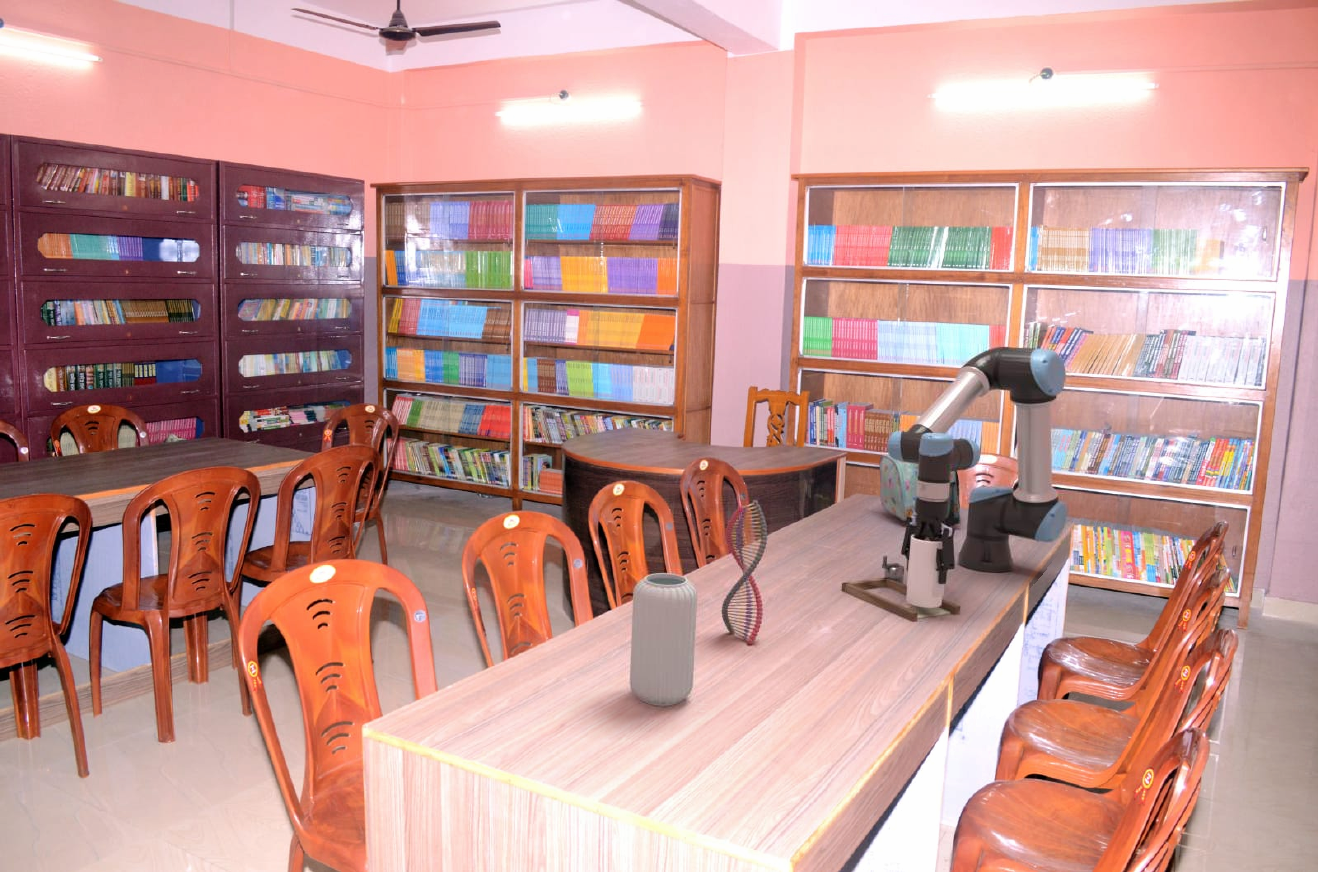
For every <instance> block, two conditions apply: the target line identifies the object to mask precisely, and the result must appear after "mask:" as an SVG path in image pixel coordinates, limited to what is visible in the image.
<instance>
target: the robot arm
mask: <svg viewBox="0 0 1318 872" xmlns="http://www.w3.org/2000/svg"><path fill="white" fill-rule="evenodd" d="M1066 376H1067V375H1066V366H1065V363H1064V360H1063V358H1062V357H1061V356H1060V355H1059V353H1057V352H1056V351H1054V350H1052V349H1051V350H1049V349H1044V348H1032V347H1012V346H1010V347H1009V346H996V347H992V348H990V349H987V350H984V351H983V352H980V353H979V354H977V355H975V356H974V357H972V358H971V359H969V360H968V361H966V363H965V364H963V365H962V366H961V368H960V369H958V371H957V372H956V374H955V380H953V381H952V383H950V385H948V387H947V388H946V389H945V390H944V391H943V392H942V394H940V396H939V397H938V398H937V399H935V401H933V403H932V404H931V405H930V406H929V408H927V409H926V410H925V412H923V414H922V415H921V416H920V417H919V418H918V419H917V420H916V421H915V422H914V423H913V424H912V425H911V427H909V429H907V431H905V430H900V431H899V430H896V431H894V432H892V433H891V434H890V436H889V438H888V439H887V444H886V445H887V447H886V448H887V452H888V454H889V455H890V457H891V458H893V459H895V460H899V461H903V462H909V463H915V464H919V465H918V478H917V491H916V495H917V496H918V498H917V499H916V502H915V513H916V514H917V516H911V517H907V518H906V520H905V522H906V527H905V532H904V537H903V540H902V541H903V542H902V546H901V549H900V550H901V551H900V554H901V555H902V556H905V558H906V568H905V569H906V572H907V577H906V584H907V583H908V570H909V557H910V544H911V536H912V535H913V534H914V535H915V537H914V538H915V539H918V540H923V541H924V540H925V538H926V537H928V538H929V539H930V541H931V542H940V541H942V549H938V548H937V551H936V563H937V568H938V569H935V573H934V586H933V597H941V596H942V597H944V593H945V584H946V583H947V579H948V571H949V570H950V571H951V570H955V569H956V564H955V563H956V562H955V543H954V536H955V532H956V528H955V527H953V526H950V527H948V526H946V525H945V520H944V519H945V517H946V516H947V513H948V501H947V500H946V499H948V498H949V488H950V475H951V472H952V471H957V472H958V471H965V470H969V469H972V468H974V467H975V466H976V465H977V464H978V463H979V462H980V459H981V449H980V446H979V445H978V443H977V442H976V441H975V440H973V439H970V438H963V437H961V438H960V437H959V438H954V437H953V436H952V434H948V433H947V432H948V431H949V430H950V429H951V428H952V426H954V425H955V423H956V422H957V421H958V420H960V418H961V417H962V416H963V415H964V413H966V411H967V410H968V409H969V408H970V407H971V406H972V405H973V404H974V402H975V401H976V400H977V399H978V398H982V397H984V396H986V395H987V394H988V393H989V392H990V391H997V390H1001V391H1007V392H1008V391H1009V400H1010V402H1011V403H1012V404H1014V405H1015V411H1016V415H1015V416H1016V442H1017V444H1016V445H1017V447H1016V448H1017V474H1018V475H1017V476H1018V478H1017V479H1018V480H1017V481H1018V487H1017V488H1016V489H1015V490H1014V488H1013V487H1012V486H1005V485H1002V486H1001V485H994V486H993V485H989V486H988V485H987V486H986V485H985V486H977V487H974V488H972V490H970V494H969V498H968V499H969V500H968V503H967V504H968V510H967V511H968V512H967V525H966V537H965V539H964V541H963V543H962V546H961V549H960V551H959V552H958V555H957V564H958V565H960V566H962V567H965V568H967V569H971V570H975V571H980V572H988V573H1004V572H1005V573H1006V572H1009V571H1012V570H1013V569H1014V568H1013V567H1014V560H1013V557H1012V552H1011V547H1010V542H1009V541H1010V540H1009V538H1010V536H1013V537H1017V538H1023V539H1026V540H1032V541H1035V542H1041V543H1042V542H1043V543H1053V542H1054V541H1056V540H1057V539H1058V538H1059V537H1060V535H1062V532H1063V530H1064V529H1065V526H1066V524H1067V518H1068V506H1067V505H1066V503H1065V502H1063V501H1059V492H1058V490H1057V489H1055V488H1054V487H1053V466H1052V465H1053V464H1052V461H1053V460H1052V421H1051V420H1052V418H1051V417H1052V413H1051V407H1052V403H1054V402H1055V401H1056V400H1057V396H1058V395H1060V394H1061V393H1062V392H1063V390H1064V388H1065V382H1066ZM937 537H938V538H937ZM942 564H943V565H942Z"/></svg>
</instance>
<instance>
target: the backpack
mask: <svg viewBox="0 0 1318 872" xmlns="http://www.w3.org/2000/svg"><path fill="white" fill-rule="evenodd" d="M918 465H919V464H915V463H909V462H903V461H899V460H895V459H893V458H891V457H890V455H889V453H888V454H883V455H881V457H880V458H879V478H880V496H879V497H880V502H881V506H882V508H883V509H884V510H885V511H886V512H888V513H890V514H892V515H894V516H896V517H897V518H899V519H900V520H902V521H906V518H907V517H911V516H917V514H916V513H915V502H916V499H917V498H918V496H917V495H916V491H917V478H918ZM959 481H960V480H959V474H958V471H952V472H951V475H950V488H949V498H948V499H946V500H947V501H948V513H947V516H946V517H945V519H944V520H945V525H946V526H948V527H953V526H955V525H959V524H961V522H962V519H961V518H962V517H961V512H960V509H961V507H960V505H961V503H960V482H959Z"/></svg>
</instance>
